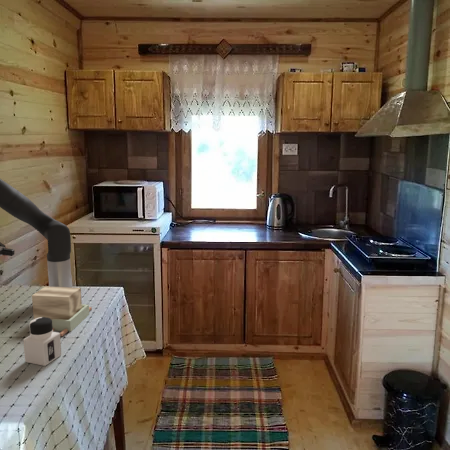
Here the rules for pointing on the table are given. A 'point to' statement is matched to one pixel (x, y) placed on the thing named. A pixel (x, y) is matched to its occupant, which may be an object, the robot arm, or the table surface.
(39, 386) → the table surface
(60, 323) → the grey-green piece
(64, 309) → the ash block
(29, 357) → the container
